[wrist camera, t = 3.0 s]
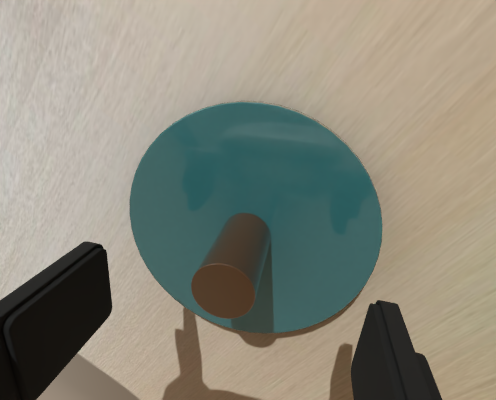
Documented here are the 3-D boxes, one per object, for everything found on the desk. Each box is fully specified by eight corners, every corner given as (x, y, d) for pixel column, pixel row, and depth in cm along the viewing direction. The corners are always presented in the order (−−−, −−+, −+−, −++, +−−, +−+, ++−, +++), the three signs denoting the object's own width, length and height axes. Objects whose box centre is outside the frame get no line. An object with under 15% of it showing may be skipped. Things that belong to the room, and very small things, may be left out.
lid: (107, 234, 18) (27, 296, 13) (217, 39, 13) (156, 15, 8) (274, 351, 19) (260, 451, 14) (438, 210, 14) (509, 287, 9)
